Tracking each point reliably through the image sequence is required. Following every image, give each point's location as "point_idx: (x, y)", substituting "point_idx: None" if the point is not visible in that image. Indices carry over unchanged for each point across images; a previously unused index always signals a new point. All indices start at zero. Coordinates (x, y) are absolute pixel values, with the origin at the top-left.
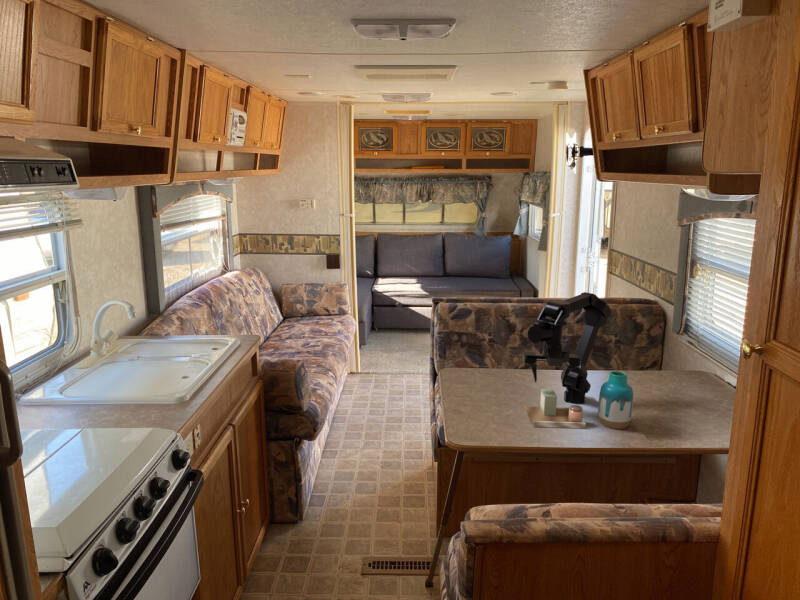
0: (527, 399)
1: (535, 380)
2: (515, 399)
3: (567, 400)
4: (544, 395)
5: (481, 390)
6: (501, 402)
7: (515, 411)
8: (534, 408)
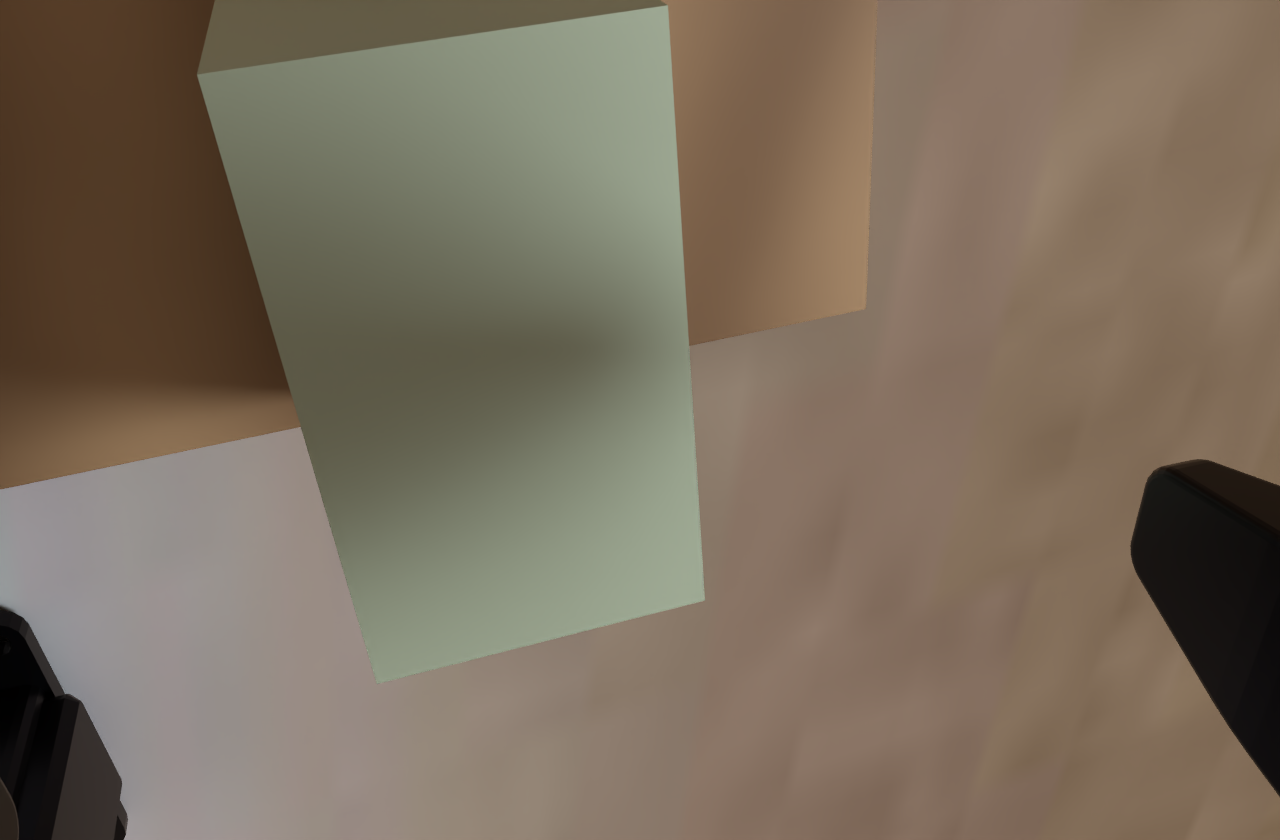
0: (707, 689)
1: (1255, 493)
2: (877, 634)
3: (23, 751)
4: (669, 145)
5: (1216, 733)
6: (1094, 477)
7: (979, 196)
8: (689, 264)
